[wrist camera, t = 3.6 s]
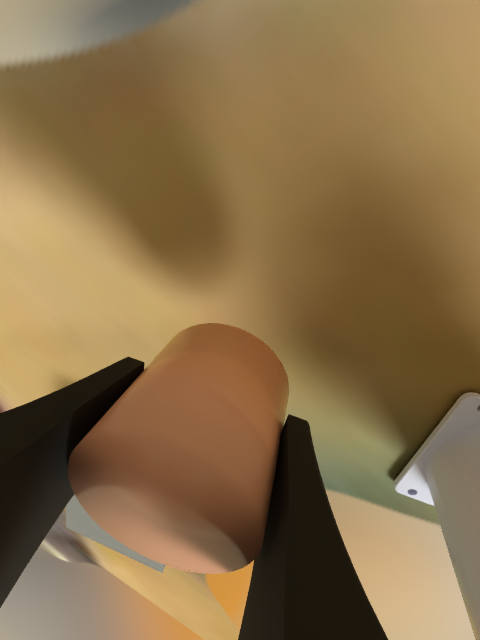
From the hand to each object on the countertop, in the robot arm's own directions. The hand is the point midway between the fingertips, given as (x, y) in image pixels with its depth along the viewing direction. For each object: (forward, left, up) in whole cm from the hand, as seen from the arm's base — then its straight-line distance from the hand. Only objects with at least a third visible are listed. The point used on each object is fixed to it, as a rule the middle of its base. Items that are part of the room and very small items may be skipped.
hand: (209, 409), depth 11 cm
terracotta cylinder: (0, 0, -2) cm, 2 cm away
